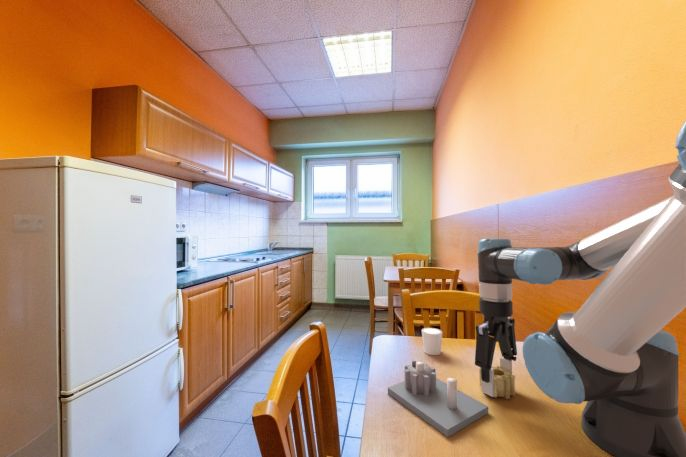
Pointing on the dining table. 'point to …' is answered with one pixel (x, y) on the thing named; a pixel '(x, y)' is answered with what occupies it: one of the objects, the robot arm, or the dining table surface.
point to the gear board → (436, 399)
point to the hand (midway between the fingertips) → (497, 388)
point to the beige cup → (432, 340)
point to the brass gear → (502, 382)
